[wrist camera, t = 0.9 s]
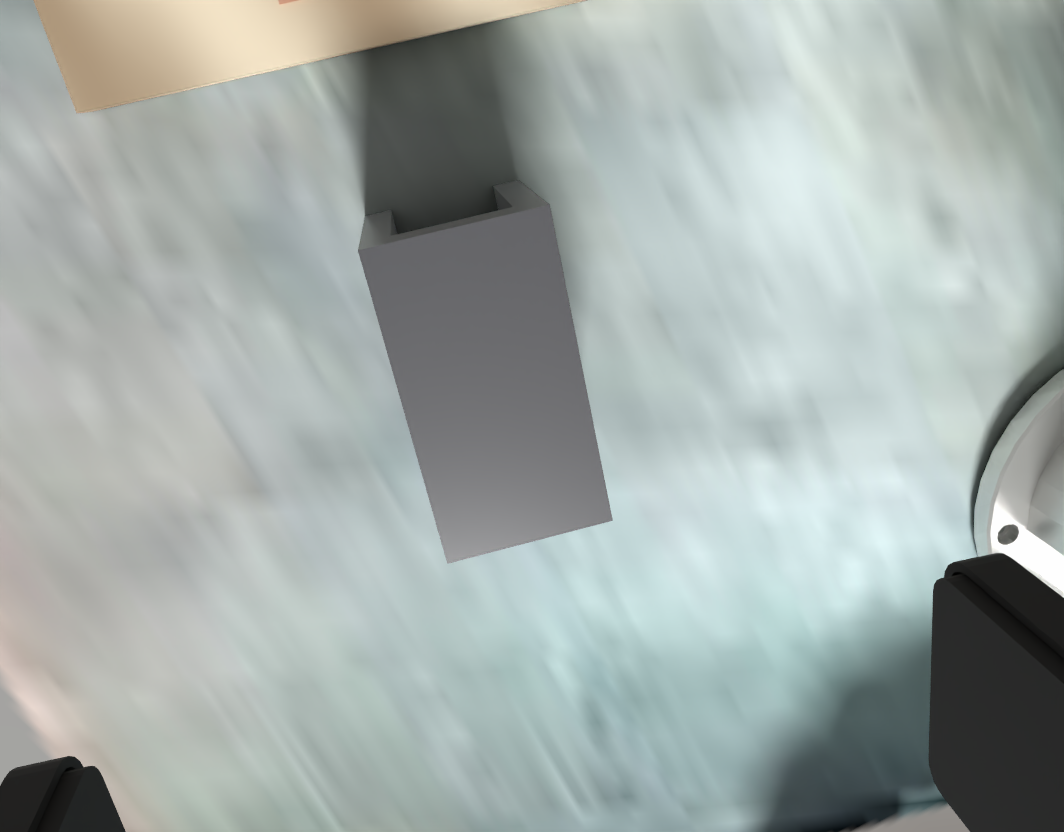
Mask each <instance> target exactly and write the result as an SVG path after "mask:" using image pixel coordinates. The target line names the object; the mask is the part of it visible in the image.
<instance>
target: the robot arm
mask: <svg viewBox="0 0 1064 832" xmlns="http://www.w3.org/2000/svg"><path fill="white" fill-rule="evenodd" d="M974 539H975V544H976V549H977V554H978V557H976V558H971V559H966V560H962V561H957V562H953V563H951V564H950V565H948V567H947V569H946V571H945V575H944V578H941V579H939V580H937V581H936V583H935V584H934V589H933V617H932V655H931V693H930V731H929V766H930V770H931V774H932V777H933V780H934V782H935V784H936V786H937V788H938V790H939V791H940V793H941V794H942V796H943V797H944V799H945V800H946V801H947V802H948V804H949V805H950V806H951V808H952V809H953V810H954V811H955V813H956V814H957V815H958V817H959V818H960V819H961V820H962V822H963V823H964V824H965V826H966V827H967V828H968V829H969V831H970V832H1064V369H1063V370H1061V371H1060V372H1058V373H1057V374H1056V375H1055V376H1054V377H1053V378H1051V379H1050V380H1049V381H1048V382H1047V383H1046V384H1045V385H1044V386H1042V387H1041V388H1040V389H1039V390H1038V391H1037V392H1036V393H1035V394H1033V395H1032V397H1031V398H1030V399H1029V400H1028V401H1027V403H1026V404H1025V405H1024V406H1023V407H1022V408H1021V410H1020V411H1019V412H1018V413H1017V414H1016V416H1015V417H1014V418H1013V419H1012V420H1011V422H1010V423H1009V425H1008V426H1007V428H1006V430H1005V431H1004V433H1003V435H1002V436H1001V438H1000V440H999V441H998V443H997V444H996V446H995V448H994V449H993V451H992V454H991V456H990V459H989V461H988V464H987V466H986V468H985V471H984V473H983V476H982V478H981V482H980V486H979V491H978V495H977V500H976V504H975V512H974ZM0 832H125V829H124V827H123V824H122V822H121V820H120V817H119V815H118V813H117V810H116V808H115V805H114V803H113V801H112V798H111V796H110V793H109V791H108V789H107V786H106V784H105V782H104V779H103V777H102V775H101V773H100V771H99V770H98V769H97V768H96V767H95V766H88V767H83V766H82V764H81V762H80V761H79V760H78V759H77V758H75V757H72V756H67V757H62V758H58V759H53V760H49V761H45V762H40V763H35V764H31V765H26V766H22V767H17V768H15V769H13V770H11V771H10V772H9V773H8V774H7V776H6V777H5V778H4V780H3V782H2V784H1V786H0Z"/></svg>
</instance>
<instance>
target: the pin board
mask: <svg viewBox="0 0 1064 832" xmlns="http://www.w3.org/2000/svg"><path fill="white" fill-rule="evenodd" d="M582 1H587V0H34V3H35V5H36V8H37V11H38V13H39V16H40V18H41V21H42V24H43V26H44V29H45V31H46V34H47V37H48V39H49V42H50V45H51V47H52V50H53V52H54V55H55V58H56V60H57V63H58V65H59V68H60V71H61V73H62V76H63V78H64V81H65V84H66V86H67V89H68V92H69V94H70V97H71V99H72V102H73V105H74V107H75V110H76V112H77V113H85V112H93V111H97V110H102V109H106V108H110V107H115V106H119V105H124V104H128V103H133V102H137V101H142V100H146V99H150V98H155V97H159V96H164V95H168V94H173V93H177V92H182V91H186V90H191V89H195V88H199V87H204V86H208V85H213V84H217V83H222V82H226V81H231V80H235V79H240V78H244V77H248V76H253V75H257V74H262V73H266V72H271V71H275V70H280V69H284V68H288V67H293V66H297V65H302V64H306V63H311V62H315V61H320V60H324V59H329V58H333V57H337V56H342V55H346V54H351V53H355V52H360V51H364V50H369V49H373V48H377V47H382V46H386V45H391V44H395V43H400V42H404V41H409V40H413V39H418V38H422V37H426V36H431V35H435V34H440V33H444V32H449V31H453V30H458V29H462V28H467V27H471V26H475V25H480V24H484V23H489V22H493V21H498V20H502V19H507V18H511V17H515V16H520V15H524V14H529V13H533V12H538V11H542V10H547V9H551V8H556V7H560V6H564V5H569V4H573V3H578V2H582Z"/></svg>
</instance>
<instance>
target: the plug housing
mask: <svg viewBox="0 0 1064 832" xmlns="http://www.w3.org/2000/svg"><path fill="white" fill-rule="evenodd" d="M493 189H494V193H495V198H496V202H497V207H498V211H494V212H489V213H485V214H481V215H477V216H472V217H468V218H464V219H460V220H456V221H451V222H447V223H443V224H439V225H435V226H430V227H426V228H422V229H418V230H414V231H409V232H405V233H401V234H397V231H396V227H395V223H394V219H393V216H392V212H391V210H388V211H384V212H380V213H375V214H371V215H367V216H365V220H364V224H363V229H362V234H361V239H360V244H359V249H358V251H359V255H360V258H361V262H362V265H363V269H364V272H365V276H366V280H367V283H368V287H369V290H370V294H371V297H372V301H373V304H374V308H375V311H376V315H377V318H378V322H379V325H380V329H381V332H382V336H383V339H384V343H385V346H386V350H387V353H388V357H389V360H390V364H391V367H392V371H393V374H394V378H395V381H396V385H397V388H398V392H399V395H400V399H401V402H402V406H403V409H404V413H405V416H406V420H407V423H408V427H409V430H410V434H411V437H412V441H413V444H414V448H415V451H416V455H417V458H418V462H419V465H420V469H421V472H422V476H423V479H424V483H425V486H426V490H427V493H428V497H429V500H430V504H431V507H432V511H433V514H434V518H435V521H436V525H437V528H438V532H439V535H440V539H441V542H442V546H443V549H444V553H445V556H446V560H447V563H452V562H455V561H459V560H463V559H467V558H471V557H475V556H478V555H482V554H486V553H490V552H494V551H498V550H501V549H505V548H509V547H513V546H517V545H521V544H524V543H528V542H532V541H536V540H540V539H544V538H547V537H551V536H555V535H559V534H563V533H567V532H570V531H574V530H578V529H582V528H586V527H590V526H593V525H597V524H601V523H605V522H609V521H613V520H612V515H611V510H610V505H609V500H608V495H607V490H606V485H605V480H604V475H603V470H602V465H601V460H600V455H599V450H598V445H597V440H596V435H595V430H594V425H593V420H592V415H591V410H590V405H589V400H588V395H587V390H586V385H585V380H584V375H583V370H582V365H581V360H580V355H579V350H578V345H577V340H576V335H575V330H574V325H573V320H572V315H571V310H570V305H569V300H568V295H567V290H566V285H565V280H564V275H563V270H562V265H561V260H560V255H559V250H558V245H557V240H556V234H555V229H554V224H553V219H552V214H551V209H550V205H549V204H548V203H547V202H545V201H544V200H543V199H542V198H540V197H539V196H538V195H537V194H535V193H534V192H533V191H532V190H530V189H529V188H528V187H527V186H525V185H524V184H523V183H522V182H520V181H519V180H515V181H511V182H507V183H503V184H498V185H494V186H493Z"/></svg>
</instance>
